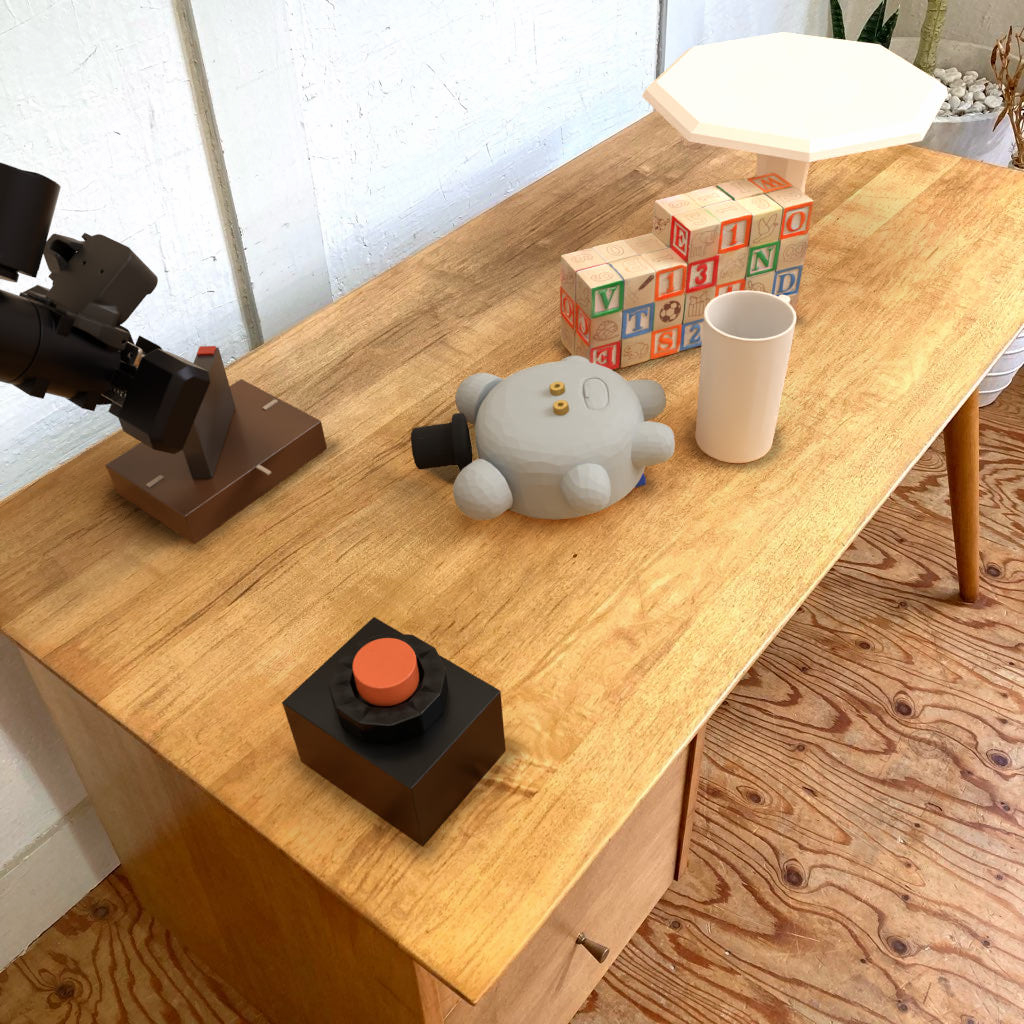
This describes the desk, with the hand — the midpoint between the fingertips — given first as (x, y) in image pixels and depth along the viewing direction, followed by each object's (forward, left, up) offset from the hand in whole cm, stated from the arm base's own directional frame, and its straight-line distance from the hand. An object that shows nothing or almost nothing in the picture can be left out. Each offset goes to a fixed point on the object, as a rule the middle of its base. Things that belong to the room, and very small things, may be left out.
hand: (188, 391), depth 82 cm
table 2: (+47, +40, -7) cm, 61 cm away
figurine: (+28, +2, -7) cm, 29 cm away
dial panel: (+2, -1, -7) cm, 7 cm away
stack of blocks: (+38, +22, -7) cm, 44 cm away
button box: (+23, -26, -7) cm, 35 cm away
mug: (+44, +9, -7) cm, 45 cm away
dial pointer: (+2, -1, -4) cm, 5 cm away
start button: (+23, -26, 0) cm, 34 cm away
